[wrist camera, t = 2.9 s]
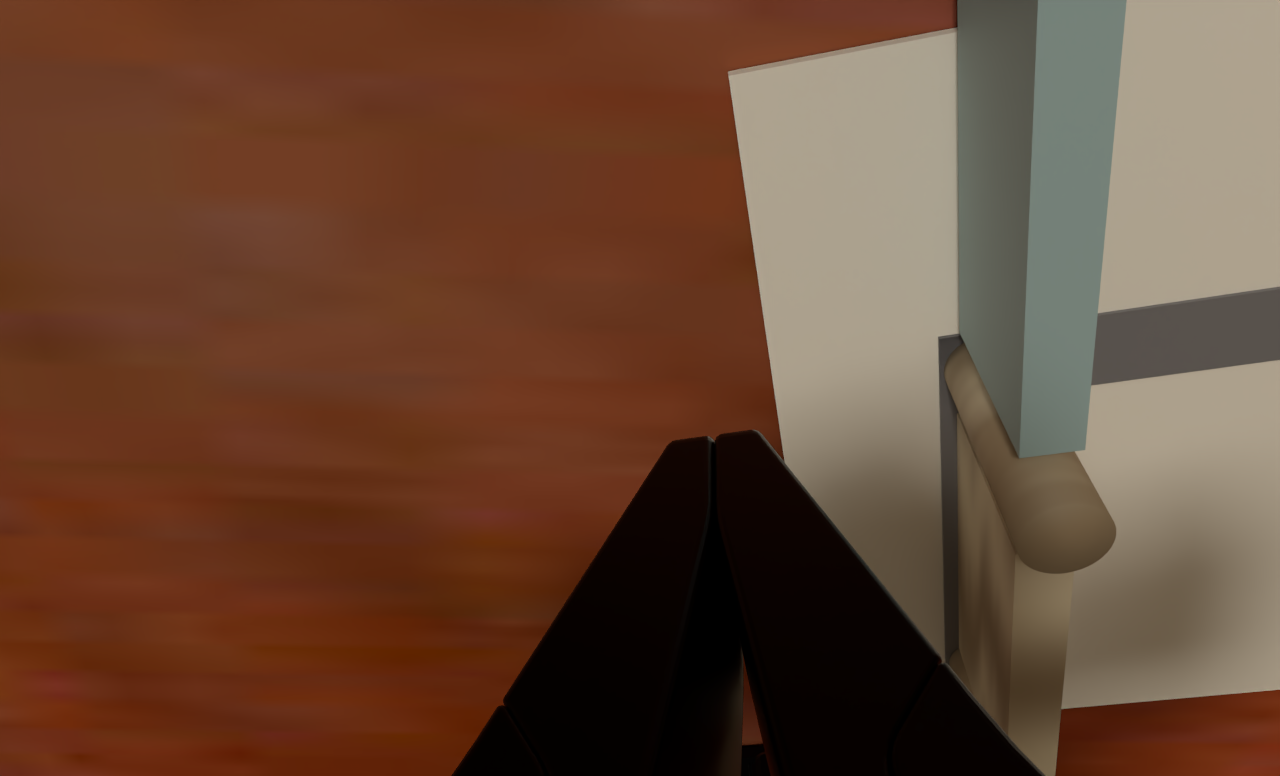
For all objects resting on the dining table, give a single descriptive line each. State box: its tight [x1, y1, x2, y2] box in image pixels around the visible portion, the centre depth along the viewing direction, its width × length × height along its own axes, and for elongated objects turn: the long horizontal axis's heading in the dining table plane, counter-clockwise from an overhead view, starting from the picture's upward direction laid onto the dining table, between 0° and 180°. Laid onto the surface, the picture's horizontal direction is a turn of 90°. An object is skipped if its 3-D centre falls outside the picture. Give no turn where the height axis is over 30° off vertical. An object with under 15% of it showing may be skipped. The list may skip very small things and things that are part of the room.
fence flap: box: [957, 0, 1127, 458], centre depth 16 cm, size 11×2×6 cm, turn 11°
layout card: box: [728, 0, 1280, 709], centre depth 23 cm, size 22×18×1 cm
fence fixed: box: [944, 343, 1116, 776], centre depth 23 cm, size 13×2×6 cm, turn 11°
